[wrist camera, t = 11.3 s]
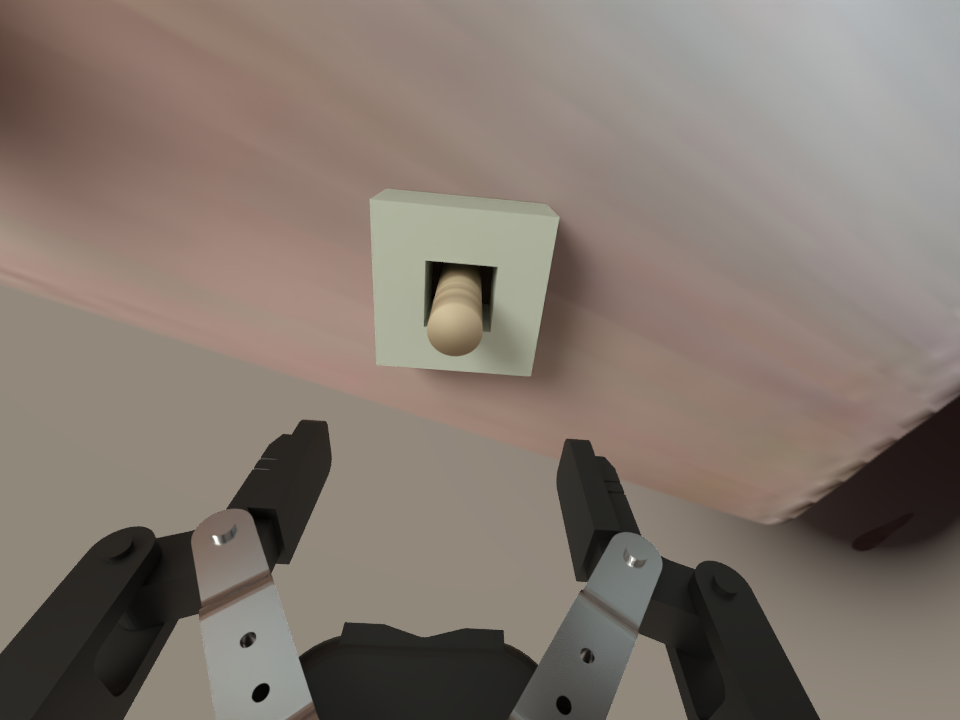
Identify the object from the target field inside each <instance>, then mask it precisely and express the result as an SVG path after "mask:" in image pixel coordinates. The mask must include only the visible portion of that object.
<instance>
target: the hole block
mask: <svg viewBox="0 0 960 720" xmlns="http://www.w3.org/2000/svg"><path fill="white" fill-rule="evenodd" d="M370 220H371V244H372V269H373V294H374V318H375V343H376V365H384V366H398V367H411V368H424V369H437V370H450V371H463V372H477V373H490V374H503V375H516V376H529V377H531V373H532V367H533V362H534V356H535V350H536V345H537V339H538V334H539V328H540V323H541V317H542V312H543V306H544V300H545V295H546V289H547V284H548V278H549V273H550V267H551V262H552V256H553V251H554V245H555V239H556V234H557V228H558V223H559V216H558V215H557V214H556V213H555V212H554V211H553V210H552V209H551V208H550V207H549V206H548V205H547V204H542V203H532V202H521V201H511V200H501V199H490V198H480V197H470V196H459V195H449V194H439V193H428V192H418V191H408V190H397V189H385V190H384V191H382V192H380V193H379V194H377V195H376V196H374V197H372V198H371V199H370ZM432 261H437V262H448V263H459V264H471V265H482V266H493V270H492V280H491V289H490V298H489V305H488V304H482V326H483V334H482V339H481V341H480V343H479V345H478V346H477V347H476V349H474V350H473V351H472V352H470V353H468V354H466V355H463V356H448V355H445V354H442V353H440V352H439V351H437V350H436V349H435V348H434V347H433V346H432V345H431V343H430V341H429V339H428V336H427V325H428V321H429V317H430V313H431V309H432V306H433V302H434V300H431V291H432Z"/></svg>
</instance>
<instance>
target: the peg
mask: <svg viewBox="0 0 960 720" xmlns="http://www.w3.org/2000/svg"><path fill="white" fill-rule="evenodd" d="M482 334H483V326H482V290H481V270H480V267H479V265H471V264H459V263H448V262H445V263H444V265H443V267H442V270H441V274H440V278H439V282H438V286H437V290H436V294H435V298H434V302H433V306H432V309H431V313H430V317H429V321H428V325H427V336H428V339H429V341H430V343H431V345H432V346H433V347H434V348H435V349H436V350H437V351H439V352H440V353H442V354H445V355H448V356H463V355H466V354H468V353H470V352H472V351H473V350H474V349H476V347H477V346H478V345H479V343H480V341H481V339H482Z"/></svg>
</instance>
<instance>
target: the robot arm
mask: <svg viewBox="0 0 960 720" xmlns="http://www.w3.org/2000/svg"><path fill="white" fill-rule="evenodd" d="M331 457H332V456H331V447H330V440H329V433H328V425H327V422H326V421H316V420H301V421H300V422H299V424H298V426H297V427H296V429H295V430H294V432H293V434H292V435H289V434H283V435H281V436H280V437H279V438H277V439H276V440H275V441H273V442H272V443H271V444H269V446H268V447H267V449H266V450H265V452H264V453H263V455H262V456H261V460H259V461H258V462H257V464H256V465H255V467H254V470H252V471H251V473H250V474H249V476H248V477H247V479H246V480H245V482H244V483H243V485H242V486H241V488H240V490H239V491H238V492H237V494H236V495H235V497H234V498H233V500H232V501H231V503H230V504H229V506H228V507H227V509H226V510H223V511H220V512H217V513H215V514H213V515H211V516H210V517H208V518H207V519H205V520H204V521H203V522H202V523H200V524H199V526H198V527H197V528H196V529H195V530H193V531H189V532H185V533H180V534H175V535H170V536H165V537H161V538H156V537H155V535H154V533H153V532H152V531H151V530H150V529H148V528H146V527H139V526H138V527H129V528H125V529H121V530H119V531H117V532H114V533H112V534H110V535H108V536H106V537H104V538H103V539H101V540H100V541H98V542H97V543H96V544H95V545H94V546H92V548H91V549H90V550H89V551H88V552H87V553H86V554H85V555H84V556H83V558H82V559H81V560H80V561H79V562H78V564H77V565H76V566H75V567H74V568H73V569H72V571H71V572H70V573H69V574H68V575H67V576H66V578H65V579H64V580H63V581H62V582H61V583H60V585H59V586H58V587H57V588H56V589H55V590H54V592H53V593H52V594H51V595H50V597H49V598H48V599H47V600H46V601H45V602H44V603H43V605H42V606H41V607H40V608H39V609H38V610H37V612H36V613H35V614H34V615H33V616H32V617H31V619H30V620H29V621H28V622H27V623H26V625H25V626H24V627H23V628H22V629H21V631H19V633H18V634H17V635H16V636H15V637H14V638H13V640H12V641H11V642H10V643H9V645H8V646H7V647H6V648H5V649H4V650H3V651H2V653H1V654H0V720H123V719H124V717H125V716H126V714H127V712H128V710H129V708H130V706H131V705H132V703H133V701H134V699H135V697H136V696H137V694H138V692H139V690H140V688H141V686H142V685H143V683H144V681H145V679H146V678H147V676H148V674H149V672H150V670H151V669H152V667H153V665H154V663H155V661H156V659H157V658H158V656H159V654H160V652H161V650H162V649H163V647H164V645H165V643H166V641H167V639H168V638H169V636H170V634H171V632H172V631H173V629H174V627H175V625H176V623H177V621H178V620H179V619H180V618H184V617H188V616H192V615H195V614H199V619H200V625H201V632H202V638H203V644H204V651H205V657H206V663H207V669H208V676H209V682H210V688H211V694H212V700H213V707H214V713H215V719H216V720H606V717H607V715H608V712H609V709H610V707H611V704H612V701H613V699H614V697H615V694H616V691H617V689H618V686H619V684H620V681H621V678H622V676H623V673H624V670H625V668H626V665H627V663H628V660H629V658H630V655H631V653H632V650H633V647H634V645H635V642H636V639H637V637H638V634H642V635H644V636H647V637H649V638H652V639H655V640H657V641H659V642H662V643H664V644H665V645H666V649H667V652H668V656H669V659H670V662H671V665H672V669H673V672H674V675H675V679H676V682H677V685H678V689H679V692H680V695H681V698H682V702H683V705H684V708H685V712H686V715H687V718H688V720H820V718H819V717H818V715H817V713H816V711H815V709H814V707H813V705H812V703H811V702H810V700H809V698H808V696H807V694H806V692H805V690H804V688H803V686H802V684H801V682H800V681H799V679H798V677H797V675H796V673H795V671H794V669H793V667H792V665H791V663H790V662H789V660H788V658H787V656H786V654H785V652H784V650H783V648H782V646H781V644H780V643H779V641H778V639H777V637H776V635H775V633H774V631H773V629H772V627H771V625H770V624H769V622H768V620H767V618H766V616H765V614H764V612H763V610H762V608H761V607H760V605H759V603H758V601H757V599H756V597H755V595H754V593H753V591H752V589H751V588H750V586H749V585H748V583H747V582H746V581H745V579H744V578H743V577H742V576H741V575H739V573H737V572H736V571H735V570H733V569H732V568H730V567H728V566H727V565H724V564H722V563H719V562H716V561H704V562H702V563H700V564H699V565H698V566H697V567H696V569H693V568H690V567H687V566H684V565H681V564H678V563H675V562H673V561H670V560H668V559H666V558H663V557H662V556H660V554H659V552H658V550H657V549H656V548H655V546H654V545H653V544H652V543H651V542H649V541H648V540H647V539H645V538H644V537H642V536H641V534H640V531H639V529H638V527H637V524H636V521H635V519H634V516H633V513H632V511H631V509H630V506H629V503H628V501H627V498H626V496H625V495H624V490H623V488H622V485H621V484H620V480H619V478H618V475H617V473H616V470H615V468H614V467H613V466H612V465H611V464H610V463H609V461H608V460H607V459H606V458H605V457H600V456H595V454H594V451H593V448H592V445H591V443H590V441H589V440H578V439H566V441H565V443H564V447H563V451H562V455H561V459H560V463H559V467H558V471H557V491H558V496H559V500H560V506H561V510H562V515H563V520H564V524H565V529H566V534H567V538H568V543H569V548H570V553H571V558H572V562H573V567H574V572H575V576H576V581H581V582H587V584H586V586H585V588H584V589H583V590H581V591H580V593H579V594H578V596H577V598H576V599H575V601H574V603H573V605H572V606H571V608H570V610H569V612H568V613H567V615H566V617H565V619H564V621H563V622H562V624H561V626H560V628H559V629H558V631H557V633H556V635H555V637H554V638H553V640H552V642H551V644H550V645H549V647H548V649H547V651H546V652H545V654H544V656H543V658H542V660H541V661H540V663H539V665H538V664H537V663H536V662H534V661H533V660H532V659H531V658H530V657H529V656H527V655H526V654H525V653H523V652H522V651H520V650H518V649H516V648H515V647H513V646H511V645H508V644H505V643H504V631H503V630H489V629H469V628H465V629H460V630H456V631H452V632H447V633H443V634H439V635H435V636H431V637H419V636H416V635H413V634H410V633H407V632H405V631H402V630H399V629H396V628H393V627H390V626H387V625H385V624H367V623H347V622H345V624H344V627H343V631H342V634H341V636H338V637H334V638H332V639H329V640H326V641H324V642H322V643H320V644H318V645H316V646H314V647H312V648H311V649H309V650H308V651H306V652H305V653H303V654H302V655H301V656H300V657H298V655H297V652H296V649H295V645H294V642H293V639H292V636H291V633H290V630H289V627H288V624H287V621H286V618H285V615H284V612H283V608H282V605H281V603H280V599H279V596H278V593H277V590H276V587H275V584H274V581H273V578H272V575H271V573H272V571H273V569H274V566H275V564H290V561H291V559H292V557H293V554H294V552H295V550H296V548H297V545H298V543H299V541H300V538H301V536H302V534H303V532H304V529H305V527H306V524H307V522H308V520H309V518H310V516H311V513H312V511H313V509H314V507H315V504H316V502H317V500H318V497H319V495H320V493H321V490H322V488H323V486H324V484H325V481H326V479H327V477H328V474H329V472H330V467H331V460H332V458H331Z"/></svg>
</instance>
